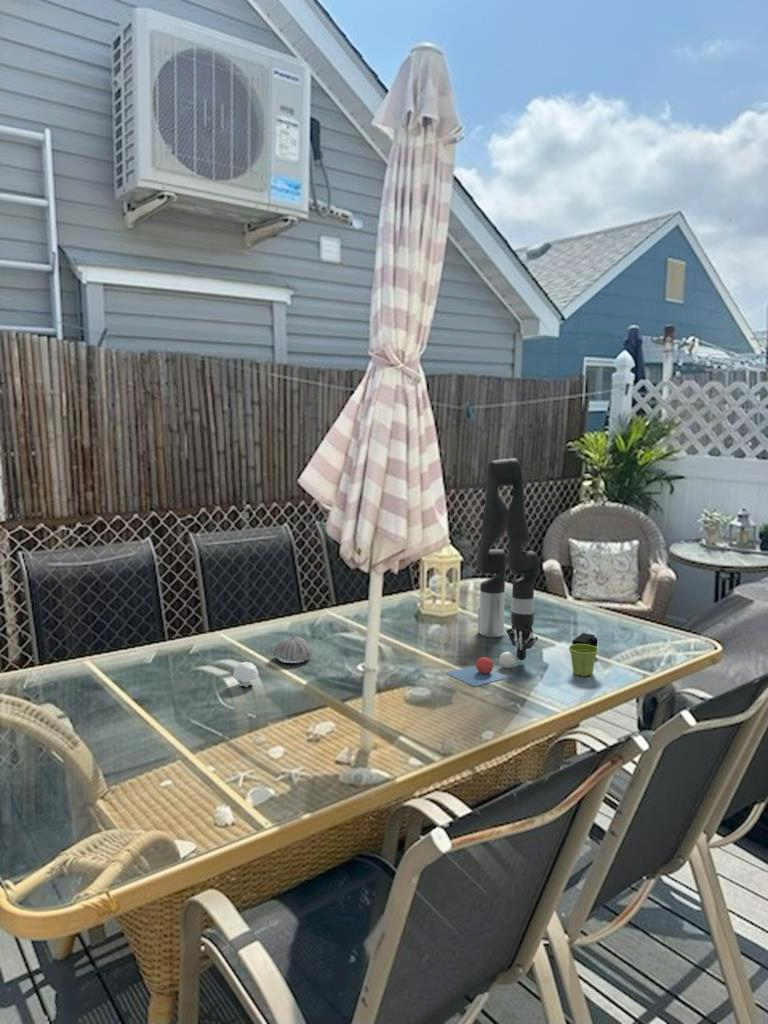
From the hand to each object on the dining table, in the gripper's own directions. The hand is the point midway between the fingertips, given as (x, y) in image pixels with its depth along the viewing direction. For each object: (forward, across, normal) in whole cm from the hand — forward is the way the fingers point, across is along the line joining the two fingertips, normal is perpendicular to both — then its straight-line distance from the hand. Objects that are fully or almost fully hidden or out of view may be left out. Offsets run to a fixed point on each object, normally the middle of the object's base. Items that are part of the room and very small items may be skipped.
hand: (521, 659), depth 244 cm
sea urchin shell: (+2, -48, -62) cm, 78 cm away
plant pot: (+2, +18, +10) cm, 21 cm away
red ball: (-1, 0, -17) cm, 17 cm away
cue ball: (-1, 0, -7) cm, 7 cm away
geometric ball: (+2, -34, -86) cm, 92 cm away
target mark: (+2, 0, -20) cm, 20 cm away
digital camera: (+2, +7, +24) cm, 25 cm away
